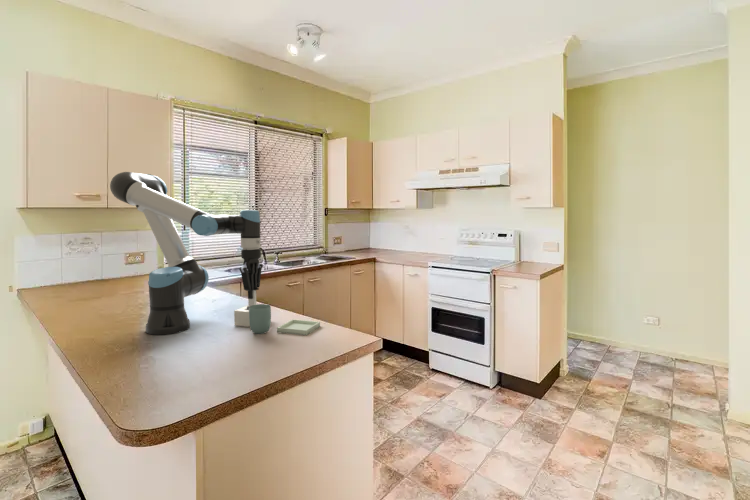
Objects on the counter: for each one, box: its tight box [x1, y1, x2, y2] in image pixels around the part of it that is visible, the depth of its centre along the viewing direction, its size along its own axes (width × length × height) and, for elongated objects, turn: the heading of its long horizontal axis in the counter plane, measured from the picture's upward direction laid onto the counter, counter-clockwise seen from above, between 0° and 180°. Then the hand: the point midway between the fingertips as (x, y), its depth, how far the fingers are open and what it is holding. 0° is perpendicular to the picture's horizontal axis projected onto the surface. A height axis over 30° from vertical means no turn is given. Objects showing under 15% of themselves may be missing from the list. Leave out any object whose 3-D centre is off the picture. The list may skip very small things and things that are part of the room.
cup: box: [249, 303, 272, 335], centre depth 147 cm, size 8×8×10 cm
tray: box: [276, 318, 321, 336], centre depth 152 cm, size 12×12×2 cm
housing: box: [233, 305, 250, 328], centre depth 160 cm, size 10×10×6 cm
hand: (252, 306), depth 159 cm, fingers closed
